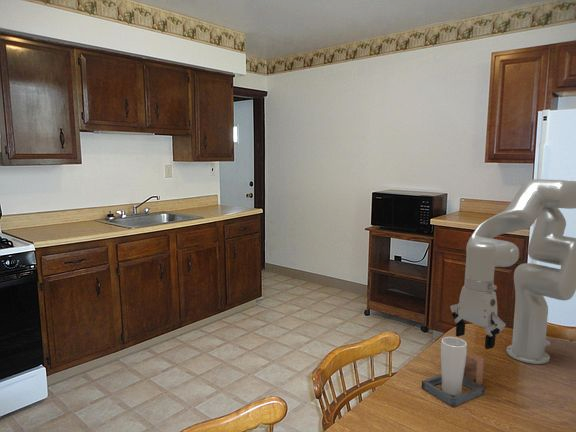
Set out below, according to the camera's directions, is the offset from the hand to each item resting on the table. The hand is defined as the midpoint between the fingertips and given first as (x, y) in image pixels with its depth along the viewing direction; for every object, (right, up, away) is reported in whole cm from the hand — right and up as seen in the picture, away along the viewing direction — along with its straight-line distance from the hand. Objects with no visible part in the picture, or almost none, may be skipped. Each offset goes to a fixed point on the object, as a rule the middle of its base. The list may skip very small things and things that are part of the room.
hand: (474, 341), depth 120 cm
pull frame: (-6, -13, -1) cm, 14 cm away
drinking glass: (-8, -14, -2) cm, 16 cm away
